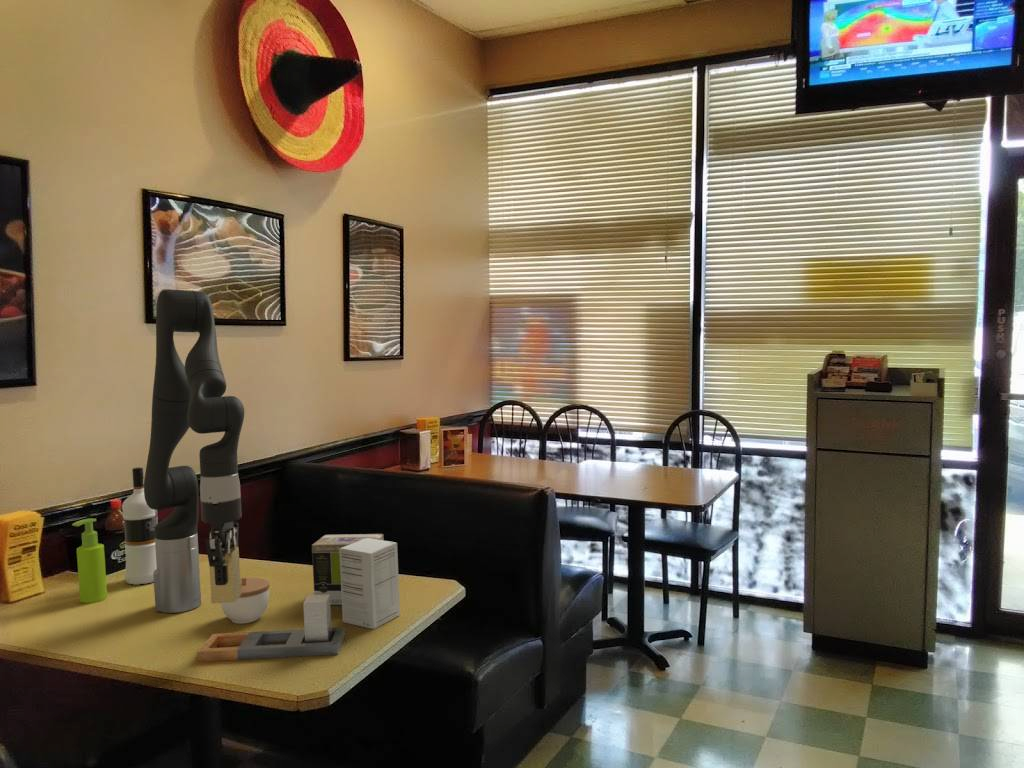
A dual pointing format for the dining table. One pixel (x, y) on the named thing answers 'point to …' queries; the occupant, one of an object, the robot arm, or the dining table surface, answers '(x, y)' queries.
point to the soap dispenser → (91, 565)
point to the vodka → (139, 534)
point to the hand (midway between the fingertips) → (225, 580)
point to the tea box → (332, 563)
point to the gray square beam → (317, 619)
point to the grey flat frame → (255, 650)
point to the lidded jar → (248, 601)
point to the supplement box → (369, 582)
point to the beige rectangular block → (233, 585)
